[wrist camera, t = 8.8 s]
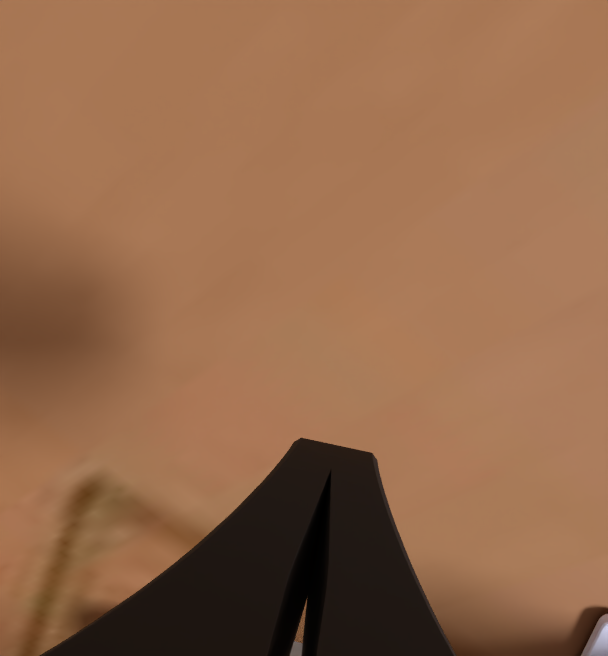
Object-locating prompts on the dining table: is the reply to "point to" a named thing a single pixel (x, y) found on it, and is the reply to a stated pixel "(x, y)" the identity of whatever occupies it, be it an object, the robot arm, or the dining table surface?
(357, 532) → the robot arm
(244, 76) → the dining table surface
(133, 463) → the dining table surface
